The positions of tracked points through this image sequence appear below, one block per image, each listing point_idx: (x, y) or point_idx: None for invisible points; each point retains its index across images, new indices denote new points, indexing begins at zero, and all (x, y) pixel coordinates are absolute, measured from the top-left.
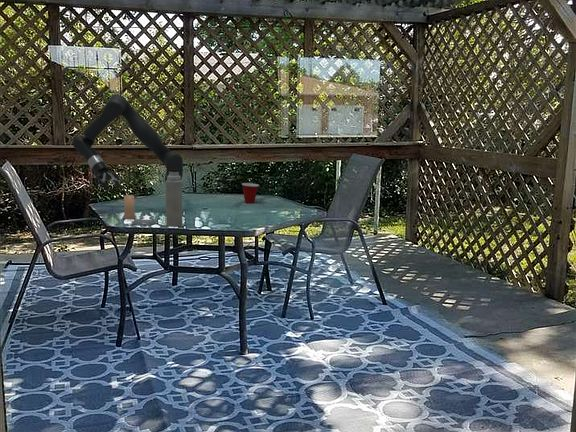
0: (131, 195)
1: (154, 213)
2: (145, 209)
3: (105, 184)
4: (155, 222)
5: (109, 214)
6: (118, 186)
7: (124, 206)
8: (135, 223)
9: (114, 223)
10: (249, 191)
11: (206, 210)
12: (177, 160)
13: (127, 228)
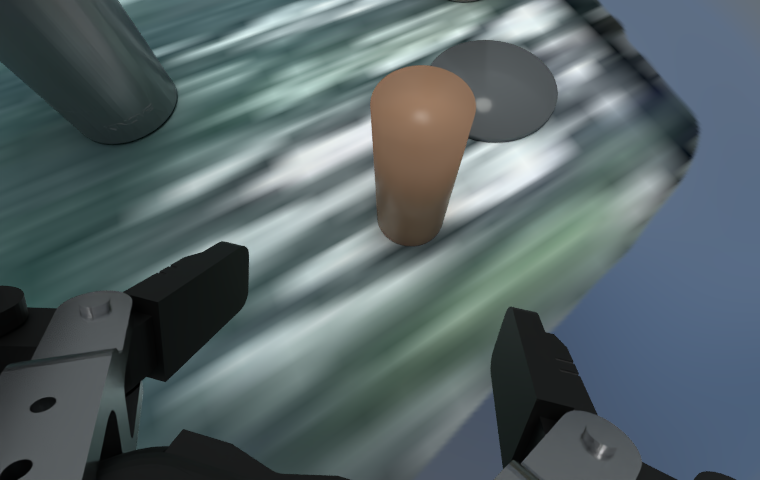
0: (387, 98)
1: (190, 174)
2: (32, 302)
3: (555, 368)
4: (471, 42)
5: (322, 447)
6: (234, 281)
7: (449, 189)
8: (556, 96)
9: (597, 209)
10: None
11: None
12: None
13: (655, 88)
